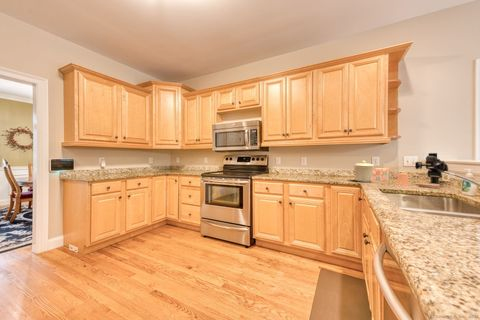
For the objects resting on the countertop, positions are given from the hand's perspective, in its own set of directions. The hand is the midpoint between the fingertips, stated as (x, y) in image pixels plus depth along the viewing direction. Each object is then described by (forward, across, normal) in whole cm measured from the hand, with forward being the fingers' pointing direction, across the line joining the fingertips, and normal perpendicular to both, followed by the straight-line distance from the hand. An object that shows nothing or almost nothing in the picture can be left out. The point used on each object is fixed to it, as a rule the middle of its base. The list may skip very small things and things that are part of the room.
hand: (426, 167), depth 175 cm
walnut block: (+4, +3, +17) cm, 17 cm away
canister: (+11, -46, +16) cm, 50 cm away
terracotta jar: (+5, -15, +16) cm, 23 cm away
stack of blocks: (-16, -45, +18) cm, 51 cm away
